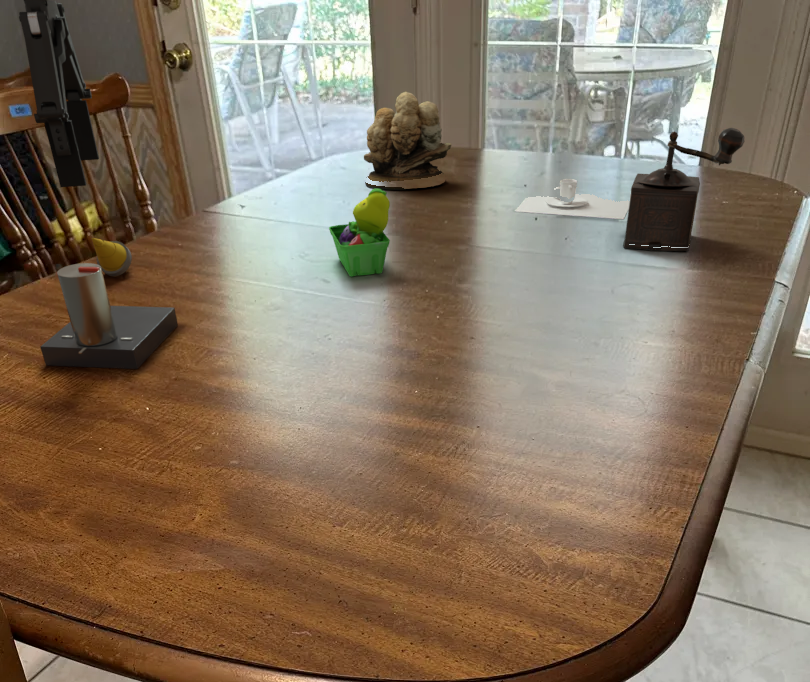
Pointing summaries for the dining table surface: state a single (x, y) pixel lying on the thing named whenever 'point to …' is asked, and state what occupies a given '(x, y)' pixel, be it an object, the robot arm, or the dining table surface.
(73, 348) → the dial base
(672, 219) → the manual coffee grinder
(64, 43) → the robot arm
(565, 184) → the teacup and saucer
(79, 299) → the shiny metal cylinder
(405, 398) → the dining table surface
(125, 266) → the yellow ridged cone
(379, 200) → the fruit basket
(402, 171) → the owl figurine
